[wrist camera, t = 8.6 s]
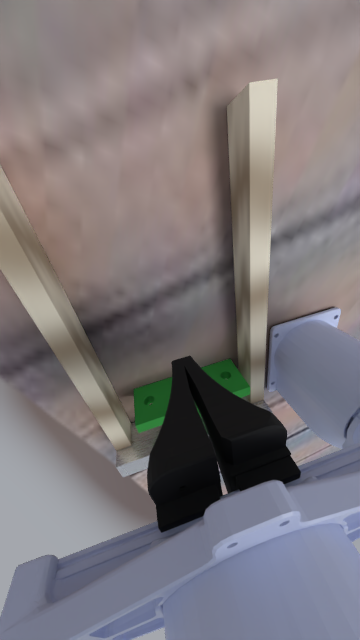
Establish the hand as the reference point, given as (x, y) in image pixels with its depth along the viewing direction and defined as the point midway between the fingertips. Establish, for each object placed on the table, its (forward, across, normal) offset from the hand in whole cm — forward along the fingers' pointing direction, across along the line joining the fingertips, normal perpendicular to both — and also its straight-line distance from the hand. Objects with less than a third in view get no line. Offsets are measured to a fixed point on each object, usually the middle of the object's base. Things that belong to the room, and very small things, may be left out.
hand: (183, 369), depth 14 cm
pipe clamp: (+5, 0, +7) cm, 8 cm away
